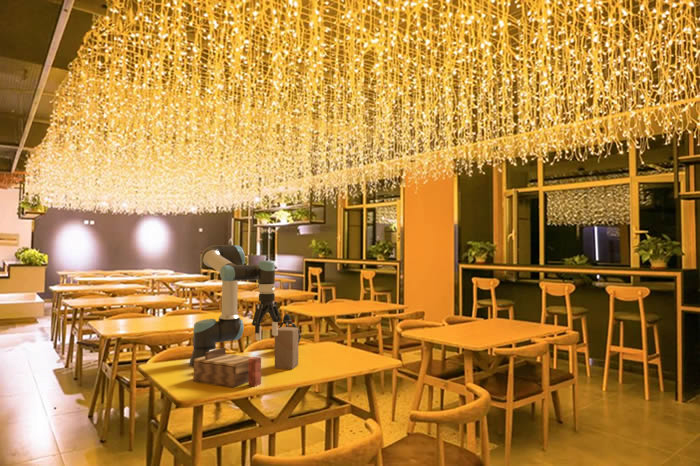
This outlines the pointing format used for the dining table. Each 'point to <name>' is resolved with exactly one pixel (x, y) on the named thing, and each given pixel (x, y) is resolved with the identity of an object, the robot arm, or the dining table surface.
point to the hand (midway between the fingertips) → (266, 337)
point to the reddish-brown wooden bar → (254, 371)
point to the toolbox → (218, 375)
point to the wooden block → (286, 348)
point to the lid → (226, 360)
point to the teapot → (288, 321)
